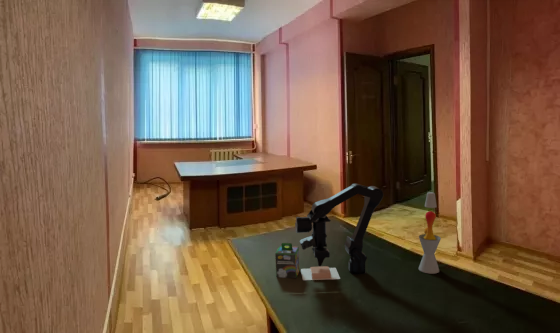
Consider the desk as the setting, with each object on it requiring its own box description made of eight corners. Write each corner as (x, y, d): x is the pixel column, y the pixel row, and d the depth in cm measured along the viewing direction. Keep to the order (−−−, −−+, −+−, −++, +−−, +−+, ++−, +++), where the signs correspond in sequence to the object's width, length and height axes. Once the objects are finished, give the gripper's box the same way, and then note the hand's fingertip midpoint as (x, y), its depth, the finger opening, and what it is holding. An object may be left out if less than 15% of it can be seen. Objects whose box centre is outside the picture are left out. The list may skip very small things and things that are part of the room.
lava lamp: (443, 273, 164) (445, 194, 160) (422, 274, 164) (424, 195, 160) (434, 265, 173) (437, 190, 169) (415, 265, 173) (416, 190, 169)
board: (335, 268, 173) (335, 267, 173) (340, 279, 161) (340, 278, 161) (300, 269, 172) (300, 268, 172) (302, 281, 160) (302, 280, 160)
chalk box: (299, 270, 171) (299, 239, 169) (296, 279, 162) (295, 246, 160) (279, 269, 173) (279, 238, 171) (275, 278, 164) (274, 245, 162)
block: (328, 266, 168) (330, 272, 161) (328, 271, 168) (330, 278, 161) (310, 266, 168) (311, 273, 161) (310, 272, 168) (312, 279, 161)
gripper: (299, 225, 173) (299, 258, 175) (302, 239, 155) (303, 275, 157) (323, 225, 173) (323, 257, 175) (329, 238, 155) (330, 274, 157)
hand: (319, 265), depth 166 cm, fingers closed
